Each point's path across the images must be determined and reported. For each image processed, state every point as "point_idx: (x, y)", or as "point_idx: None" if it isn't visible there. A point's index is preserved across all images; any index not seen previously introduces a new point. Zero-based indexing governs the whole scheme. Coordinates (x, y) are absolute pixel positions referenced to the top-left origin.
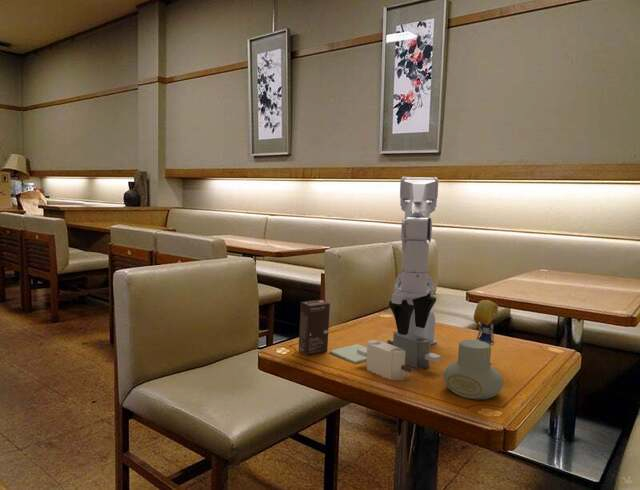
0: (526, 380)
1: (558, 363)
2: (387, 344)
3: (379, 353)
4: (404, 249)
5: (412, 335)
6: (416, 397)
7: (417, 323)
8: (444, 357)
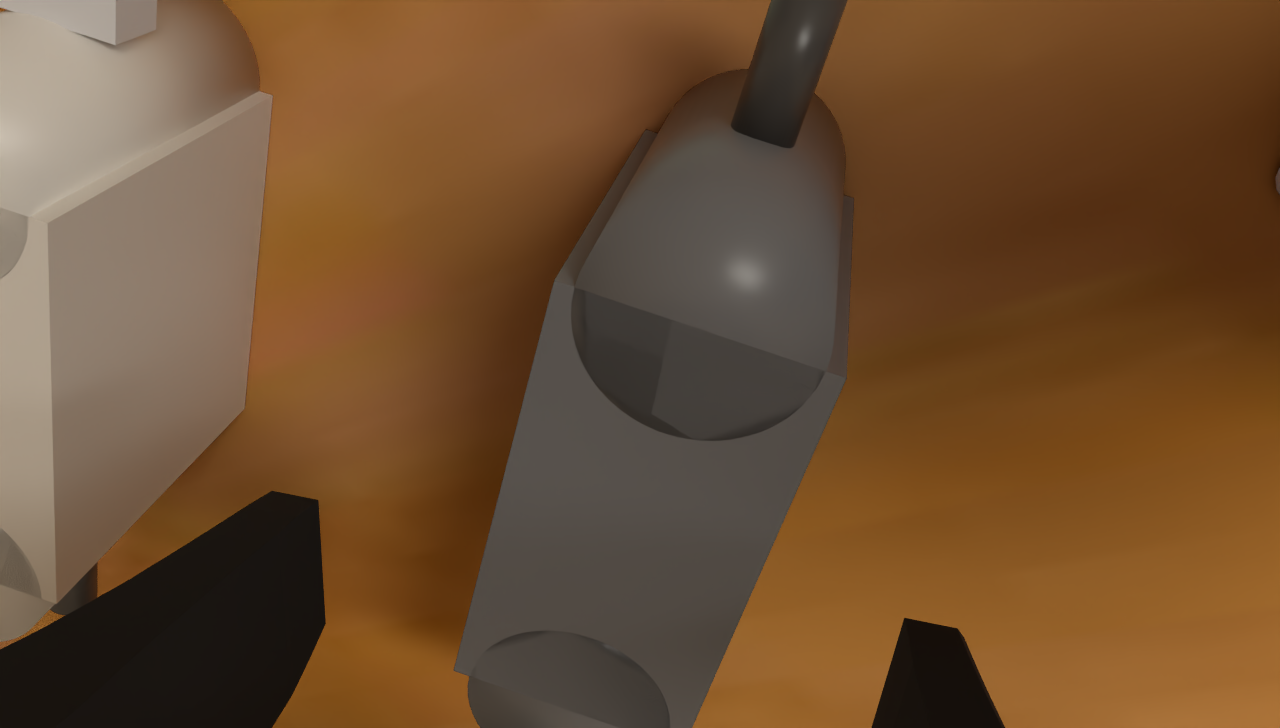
0: None
1: None
2: (22, 381)
3: None
4: None
5: (709, 535)
6: None
7: (896, 695)
8: (1124, 598)
